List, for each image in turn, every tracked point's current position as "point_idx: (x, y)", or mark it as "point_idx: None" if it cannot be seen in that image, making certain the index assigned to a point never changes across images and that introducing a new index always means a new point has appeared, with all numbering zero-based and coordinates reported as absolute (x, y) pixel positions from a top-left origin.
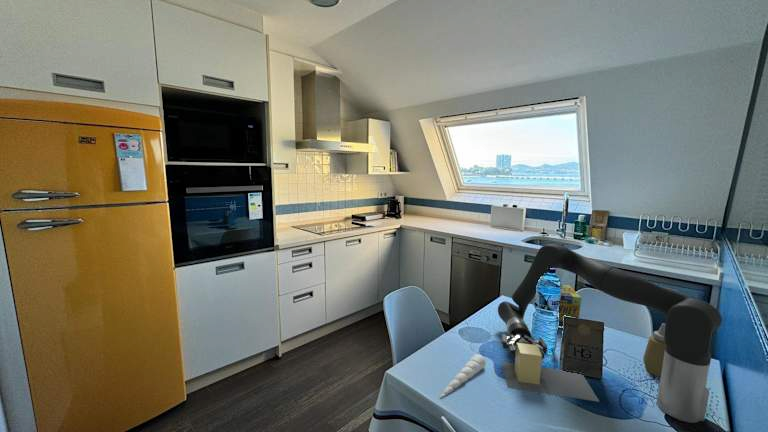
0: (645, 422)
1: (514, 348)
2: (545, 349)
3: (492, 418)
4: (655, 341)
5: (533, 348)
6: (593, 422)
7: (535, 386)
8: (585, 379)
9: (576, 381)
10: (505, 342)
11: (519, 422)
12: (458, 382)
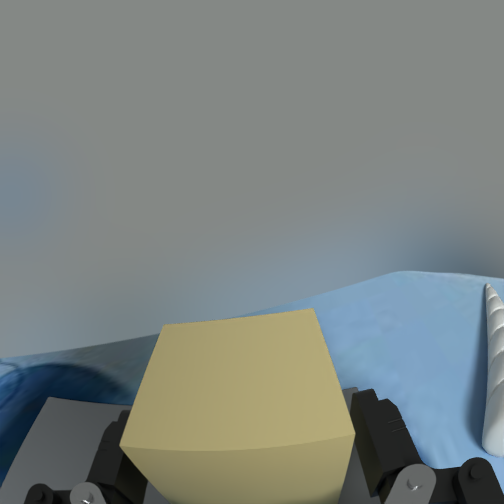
0: (17, 361)
1: (365, 409)
2: (57, 494)
3: (371, 290)
4: None
5: (185, 386)
6: (122, 345)
7: None
8: (4, 481)
9: (39, 477)
10: (465, 462)
11: (311, 301)
12: (491, 309)
